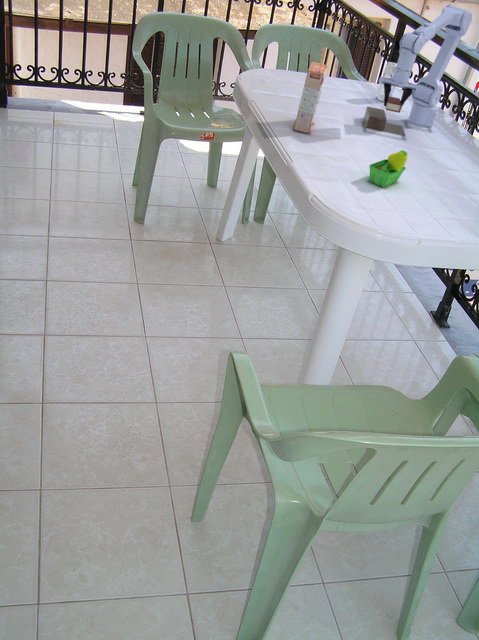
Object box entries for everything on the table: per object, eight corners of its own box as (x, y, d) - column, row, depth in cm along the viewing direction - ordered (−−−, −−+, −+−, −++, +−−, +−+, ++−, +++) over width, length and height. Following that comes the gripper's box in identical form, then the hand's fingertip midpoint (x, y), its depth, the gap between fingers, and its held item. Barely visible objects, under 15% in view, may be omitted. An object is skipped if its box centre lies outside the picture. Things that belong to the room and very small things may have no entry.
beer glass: (373, 97, 293) (383, 61, 285) (385, 97, 296) (396, 62, 288) (382, 102, 288) (393, 66, 280) (395, 103, 292) (406, 67, 283)
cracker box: (309, 134, 236) (324, 73, 225) (292, 130, 237) (306, 69, 225) (313, 123, 248) (328, 64, 236) (297, 119, 248) (311, 60, 237)
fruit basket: (381, 173, 218) (391, 139, 211) (405, 184, 214) (417, 149, 207) (363, 180, 210) (374, 145, 203) (388, 191, 206) (400, 156, 199)
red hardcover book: (397, 106, 254) (399, 98, 253) (399, 112, 248) (402, 104, 246) (384, 103, 254) (386, 95, 252) (386, 110, 248) (388, 101, 246)
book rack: (400, 129, 261) (405, 114, 258) (404, 140, 251) (409, 124, 248) (362, 121, 261) (367, 106, 257) (364, 131, 251) (369, 115, 247)
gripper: (385, 67, 240) (373, 105, 247) (425, 76, 240) (412, 114, 248) (383, 62, 245) (372, 100, 253) (422, 71, 246) (410, 108, 253)
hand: (392, 106), depth 251 cm, fingers closed on red hardcover book, 5 cm apart
